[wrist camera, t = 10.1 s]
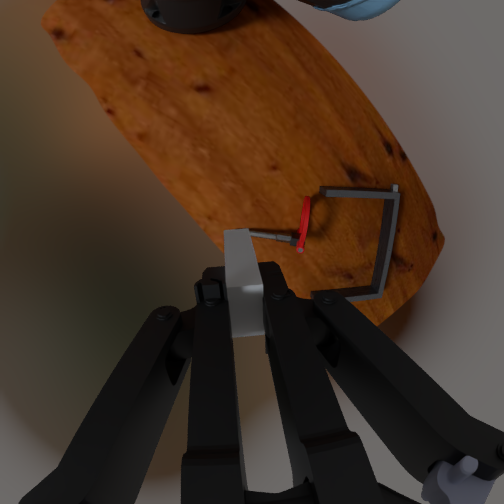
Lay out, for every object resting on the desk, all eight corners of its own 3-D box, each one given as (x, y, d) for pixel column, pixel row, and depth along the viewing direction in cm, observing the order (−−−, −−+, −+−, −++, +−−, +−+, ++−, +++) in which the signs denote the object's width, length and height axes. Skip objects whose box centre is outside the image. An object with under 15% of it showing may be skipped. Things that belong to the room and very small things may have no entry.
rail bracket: (320, 179, 40) (327, 182, 38) (395, 183, 42) (405, 187, 39) (309, 301, 48) (314, 310, 46) (377, 293, 50) (384, 301, 47)
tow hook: (311, 189, 40) (304, 232, 44) (241, 180, 40) (239, 223, 45) (313, 209, 34) (304, 257, 38) (232, 199, 35) (230, 247, 39)
